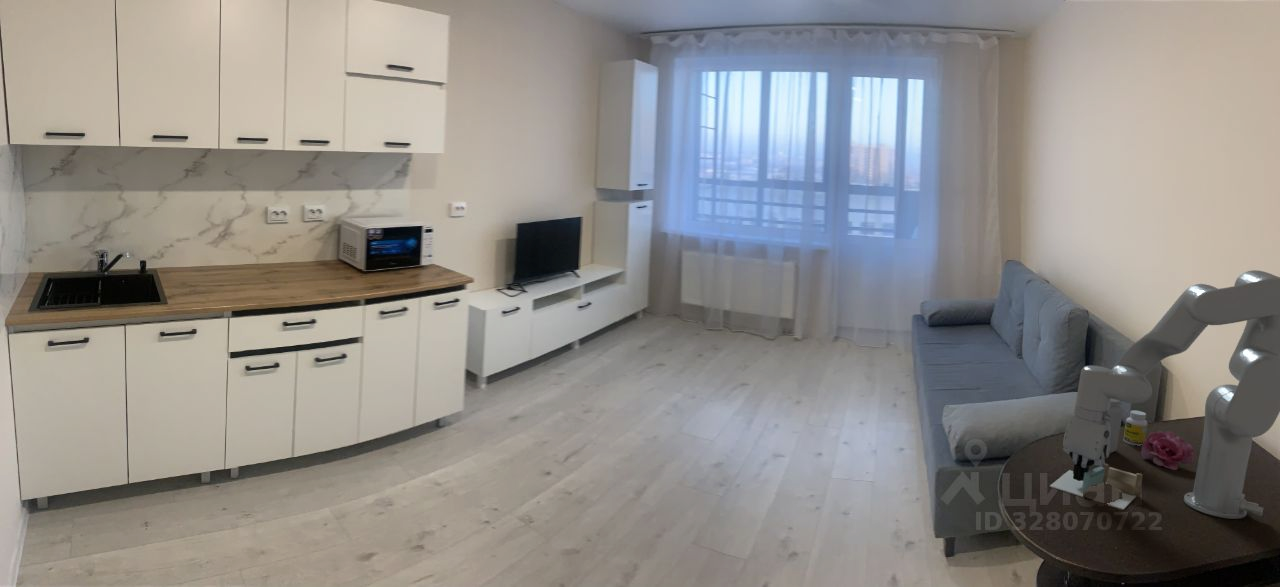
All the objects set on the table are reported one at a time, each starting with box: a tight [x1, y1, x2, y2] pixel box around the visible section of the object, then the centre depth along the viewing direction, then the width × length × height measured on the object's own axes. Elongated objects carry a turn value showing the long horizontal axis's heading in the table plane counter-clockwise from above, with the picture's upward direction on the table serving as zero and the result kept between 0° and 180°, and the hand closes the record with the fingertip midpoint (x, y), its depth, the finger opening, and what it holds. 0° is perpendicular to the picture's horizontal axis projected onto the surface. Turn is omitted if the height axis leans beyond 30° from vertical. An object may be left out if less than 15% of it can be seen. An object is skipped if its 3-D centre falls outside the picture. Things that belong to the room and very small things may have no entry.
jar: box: [1107, 398, 1124, 455], centre depth 224 cm, size 10×10×18 cm
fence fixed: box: [1100, 463, 1143, 498], centre depth 197 cm, size 9×2×6 cm, turn 44°
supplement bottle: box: [1122, 409, 1148, 447], centre depth 230 cm, size 5×5×10 cm
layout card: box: [1049, 469, 1137, 511], centre depth 198 cm, size 17×15×1 cm
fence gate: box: [1082, 466, 1105, 491], centre depth 197 cm, size 9×1×5 cm, turn 124°
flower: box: [1140, 430, 1195, 471], centre depth 215 cm, size 11×10×10 cm
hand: (1079, 479), depth 199 cm, fingers closed
